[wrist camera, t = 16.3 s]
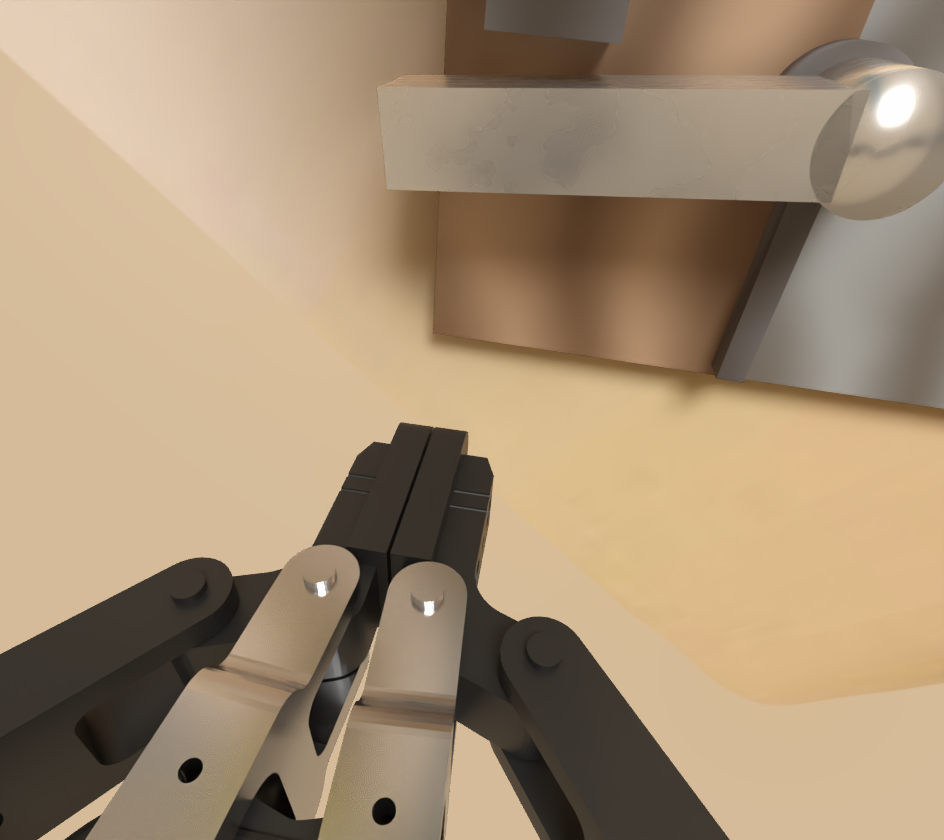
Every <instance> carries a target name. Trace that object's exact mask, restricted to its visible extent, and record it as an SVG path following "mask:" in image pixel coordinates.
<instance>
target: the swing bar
mask: <svg viewBox="0 0 944 840" xmlns="http://www.w3.org/2000/svg"><path fill="white" fill-rule="evenodd" d="M377 95H378V105H379V115H380V125H381V136H382V146H383V156H384V166H385V176H386V187H387V190H413V191H447V192H481V193H514V194H548V195H582V196H616V197H650V198H683V199H717V200H751V201H785V202H819V203H820V204H821V205H822V206H824V207H825V208H826V209H827V210H828V211H830V212H831V213H833V214H835V215H837V216H840V217H842V218H846V219H850V220H859V221H865V220H876V219H881V218H885V217H889V216H892V215H895V214H897V213H900V212H902V211H904V210H906V209H908V208H910V207H912V206H914V205H915V204H917V203H919V202H920V201H922V200H923V199H924V198H926V197H927V196H929V195H930V194H931V193H932V192H933V191H935V190H936V189H937V188H938V187H939V186H940V185H941V184H942V183H943V182H944V73H942V72H939V71H935V70H931V69H926V68H922V67H917V66H912V65H908V64H903V63H898V62H893V61H889V60H884V59H879V58H872V57H863V58H855V59H850V60H847V61H844V62H841V63H838V64H836V65H834V66H832V67H830V68H828V69H826V70H825V71H823V72H821V73H820V74H819V75H817V76H773V75H404V76H401V77H399V78H397V79H395V80H392V81H390V82H388V83H386V84H383V85H381V86H379V87H377Z"/></svg>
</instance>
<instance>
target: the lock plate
mask: <svg viewBox="0 0 944 840" xmlns="http://www.w3.org/2000/svg"><path fill="white" fill-rule="evenodd" d="M863 57H872V58H879V59H884V60H889V61H893V62H898V63H903V64H908V65H912V66H917V67H922V68H926V69H931V70H935V71H939V72H942V73H944V0H447V19H446V42H445V66H444V75H773V76H817V75H819V74H820V73H821V72H823V71H825V70H826V69H828V68H830V67H832V66H834V65H836V64H838V63H841V62H844V61H847V60H850V59H855V58H863ZM433 333H436V334H443V335H449V336H456V337H463V338H470V339H476V340H483V341H490V342H497V343H503V344H510V345H517V346H524V347H530V348H537V349H544V350H551V351H557V352H564V353H571V354H578V355H584V356H591V357H598V358H605V359H611V360H618V361H625V362H632V363H638V364H645V365H652V366H659V367H665V368H672V369H679V370H685V371H692V372H699V373H706V374H712V375H715V376H716V379H723V380H730V381H737V382H744V380H745V379H746V380H753V381H760V382H766V383H773V384H780V385H787V386H793V387H800V388H807V389H814V390H820V391H827V392H834V393H841V394H847V395H854V396H861V397H868V398H874V399H881V400H888V401H895V402H901V403H908V404H915V405H922V406H928V407H935V408H942V409H944V182H943V183H942V184H941V185H940V186H939V187H938V188H937V189H936V190H935V191H933V192H932V193H931V194H930V195H929V196H927V197H926V198H924V199H923V200H922V201H920V202H919V203H917V204H915V205H914V206H912V207H910V208H908V209H906V210H904V211H902V212H900V213H897V214H895V215H892V216H889V217H885V218H881V219H876V220H865V221H859V220H850V219H846V218H842V217H840V216H837V215H835V214H833V213H831V212H830V211H828V210H827V209H826V208H825V207H824V206H822V205H821V204H820V203H819V202H785V201H751V200H717V199H683V198H650V197H616V196H582V195H548V194H514V193H481V192H447V191H439V207H438V231H437V254H436V278H435V301H434V325H433Z"/></svg>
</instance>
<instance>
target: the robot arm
mask: <svg viewBox="0 0 944 840" xmlns="http://www.w3.org/2000/svg"><path fill="white" fill-rule="evenodd" d="M467 451H468V432H467V431H460V430H452V429H445V428H438V427H435V428H434V427H430V426H423V425H416V424H409V423H400V424H399V426H398V428H397V430H396V433H395V435H394V437H393V439H392V441H391V444H386V443H379V442H373V443H372V444H371V445H370V446H368V447H367V448H366V449H365V450H364V451H362V452H361V453H360V454H359V455H358V456H357V457H356V460H355V461H354V463H353V466H352V467H351V469H350V471H349V475H348V477H346V480H345V482H344V484H343V486H342V489H341V491H340V492H339V494H338V496H337V498H336V500H335V502H334V504H333V506H332V508H331V510H330V512H329V514H328V516H327V518H326V520H325V522H324V524H323V526H322V528H321V530H320V532H319V534H318V536H317V538H316V540H315V542H314V544H313V546H312V547H310V548H307V549H305V550H303V551H301V552H299V553H297V554H296V555H295V556H293V557H292V558H291V559H290V560H289V561H288V562H287V563H286V565H285V566H284V568H283V569H280V570H277V571H273V572H267V573H260V574H250V575H242V576H233V577H232V574H231V572H230V571H229V568H228V567H227V566H226V565H225V564H224V563H222V562H221V561H218V560H216V559H212V558H193V559H188V560H185V561H182V562H179V563H177V564H175V565H173V566H171V567H169V568H167V569H165V570H163V571H161V572H159V573H158V574H155V575H153V576H152V577H150V578H148V579H146V580H144V581H142V582H140V583H138V584H136V585H134V586H132V587H130V588H128V589H127V590H124V591H122V592H121V593H118V594H116V595H114V596H113V597H111V598H109V599H107V600H105V601H103V602H101V603H99V604H97V605H95V606H93V607H91V608H89V609H87V610H85V611H83V612H81V613H80V614H78V615H76V616H74V617H72V618H70V619H68V620H66V621H64V622H62V623H60V624H58V625H56V626H54V627H52V628H50V629H49V630H46V631H45V632H43V633H41V634H39V635H37V636H35V637H33V638H31V639H29V640H27V641H25V642H23V643H21V644H20V645H17V646H15V647H13V648H12V649H10V650H8V651H6V652H4V653H2V654H0V840H37V839H39V838H40V837H42V836H43V835H45V834H46V833H48V832H49V831H51V830H52V829H53V828H55V827H56V826H58V825H59V824H61V823H62V822H64V821H65V820H66V819H68V818H69V817H71V816H72V815H74V814H75V813H77V812H78V811H80V810H81V809H83V808H84V807H85V806H87V805H88V804H90V803H91V802H93V801H94V800H96V799H97V798H98V797H100V796H101V795H103V794H104V793H106V792H107V791H109V790H110V789H112V788H113V787H114V786H116V785H117V784H119V783H120V782H122V781H123V780H124V781H123V783H122V785H121V786H120V788H119V789H118V791H117V792H116V794H115V795H114V797H113V798H112V800H111V801H110V803H109V804H108V806H107V807H106V809H105V810H104V812H103V813H102V815H100V816H98V817H97V818H95V819H93V820H92V821H90V822H88V823H87V824H85V825H84V826H83V827H81V828H80V829H78V830H77V831H76V832H74V833H73V834H71V835H70V836H69V837H67V838H66V839H65V840H445V834H446V824H447V814H448V802H449V792H450V782H451V772H452V763H453V752H454V743H455V734H456V725H457V721H458V722H459V723H461V724H463V725H464V726H466V727H468V728H469V729H471V730H473V731H474V732H476V733H477V734H479V735H481V736H482V737H484V738H486V739H487V740H489V741H490V743H491V746H492V749H493V751H494V753H495V755H496V757H497V759H498V761H499V763H500V764H501V766H502V768H503V770H504V772H505V774H506V776H507V778H508V780H509V781H510V783H511V785H512V787H513V789H514V791H515V792H516V795H517V796H518V798H519V800H520V802H521V804H522V806H523V808H524V809H525V811H526V813H527V815H528V817H529V819H530V821H531V823H532V825H533V827H534V828H535V830H536V832H537V834H538V836H539V838H540V840H729V838H728V837H727V836H726V834H725V833H724V832H723V830H722V829H721V828H720V826H719V825H718V824H717V822H716V821H715V820H714V818H713V817H712V816H711V814H710V813H709V812H708V810H707V809H706V807H705V806H704V805H703V803H702V802H701V801H700V800H699V798H698V797H697V795H696V794H695V793H694V792H693V790H692V789H691V788H690V786H689V785H688V783H687V782H686V781H685V779H684V778H683V777H682V775H681V774H680V773H679V771H678V770H677V769H676V767H675V766H674V765H673V763H672V762H671V761H670V759H669V758H668V756H667V755H666V754H665V752H664V751H663V750H662V749H661V747H660V746H659V744H658V743H657V742H656V740H655V739H654V738H653V736H652V735H651V734H650V732H649V731H648V730H647V728H646V727H645V726H644V724H643V723H642V722H641V720H640V719H639V718H638V716H637V715H636V714H635V712H634V711H633V710H632V708H631V707H630V706H629V704H628V703H627V701H626V700H625V699H624V697H623V696H622V695H621V694H620V692H619V691H618V689H617V688H616V687H615V685H614V684H613V683H612V681H611V680H610V679H609V678H608V676H607V675H606V673H605V672H604V671H603V669H602V668H601V667H600V666H599V664H598V663H597V661H596V660H595V659H594V657H593V656H592V655H591V653H590V652H589V651H588V649H587V648H586V646H585V645H584V644H583V642H582V641H581V640H580V638H579V637H578V636H577V635H576V634H575V632H573V631H572V630H571V629H570V628H569V627H568V626H566V625H565V624H563V623H561V622H559V621H557V620H555V619H551V618H548V617H530V618H526V619H523V620H520V621H519V622H518V621H516V620H514V619H512V618H510V617H508V616H506V615H504V614H502V613H500V612H499V611H497V610H495V609H494V608H492V607H491V606H490V605H489V604H488V603H487V602H486V601H485V600H484V599H483V597H482V596H481V594H480V593H479V591H478V588H477V584H478V579H479V573H480V568H481V563H482V557H483V552H484V547H485V542H486V536H487V531H488V526H489V518H490V507H491V497H492V487H493V477H494V475H493V473H492V470H491V467H490V464H489V462H488V459H487V458H483V457H476V456H470V455H467ZM377 627H379V629H378V633H377V637H376V641H375V645H374V650H373V653H372V658H371V662H370V666H369V670H368V674H367V678H366V682H365V686H364V690H363V694H362V696H361V698H360V700H359V701H356V702H355V704H354V706H353V708H352V710H351V713H350V716H349V719H348V723H347V727H346V730H345V735H344V738H343V742H342V746H341V750H340V754H339V758H338V762H337V766H336V770H335V774H334V778H333V782H332V786H331V790H330V793H329V797H328V801H327V805H326V809H325V813H324V817H323V818H318V819H314V817H315V815H316V812H317V809H318V806H319V803H320V799H321V796H322V791H323V786H324V780H325V773H326V769H327V765H328V762H329V759H330V756H331V754H332V751H333V749H334V747H335V744H336V742H337V739H338V737H339V734H340V732H341V729H342V727H343V725H344V722H345V720H346V717H347V715H348V712H349V710H350V707H351V705H352V703H353V700H354V698H355V695H356V693H357V690H358V688H359V685H360V683H361V680H362V678H363V676H364V673H365V670H366V669H367V666H368V662H369V650H370V647H371V644H372V641H373V638H374V635H375V632H376V629H377Z"/></svg>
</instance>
